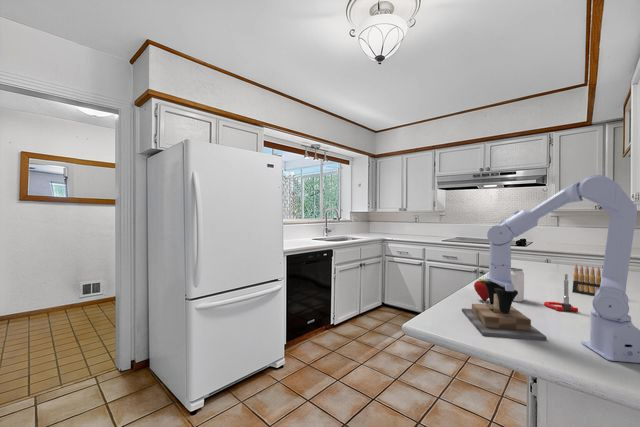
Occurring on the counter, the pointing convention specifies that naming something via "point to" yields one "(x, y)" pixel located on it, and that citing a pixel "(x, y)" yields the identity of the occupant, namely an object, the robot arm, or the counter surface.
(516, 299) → the can
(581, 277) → the ammunition clip
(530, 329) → the holder
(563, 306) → the tow hook
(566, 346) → the counter surface
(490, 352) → the counter surface
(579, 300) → the counter surface
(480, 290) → the strawberry
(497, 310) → the peg
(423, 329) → the counter surface
